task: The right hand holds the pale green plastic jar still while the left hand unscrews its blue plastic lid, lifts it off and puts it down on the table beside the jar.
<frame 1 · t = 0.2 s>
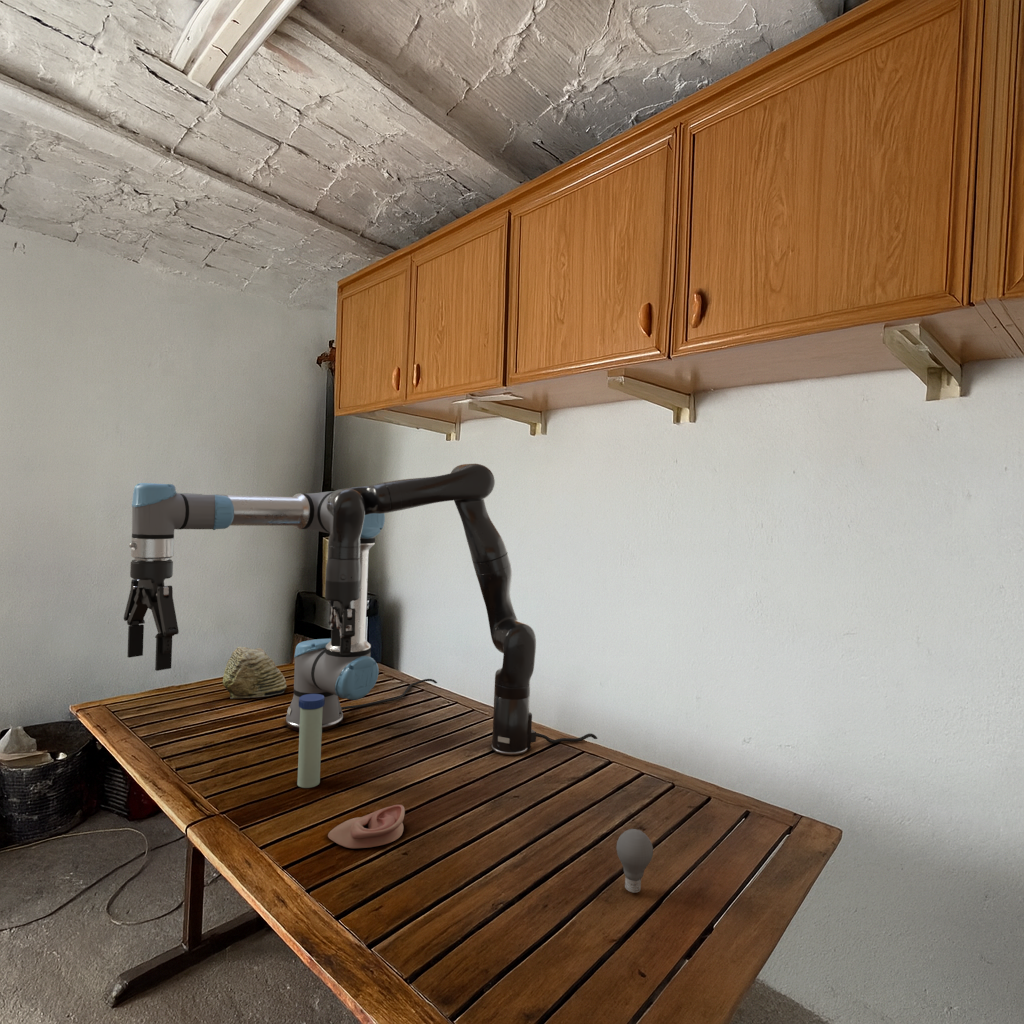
left hand: (148, 662, 129), 28 cm above the table, tool pointing down, fingers open, 13 cm apart
right hand: (340, 650, 142), 29 cm above the table, tool pointing down, fingers open, 8 cm apart
fossil: (254, 694, 198), on the table
jar: (308, 783, 140), on the table
light bulb: (632, 891, 106), on the table
anatomical model: (366, 834, 120), on the table
lid: (311, 698, 139), point 19 cm above the table, screwed on, not yet turned
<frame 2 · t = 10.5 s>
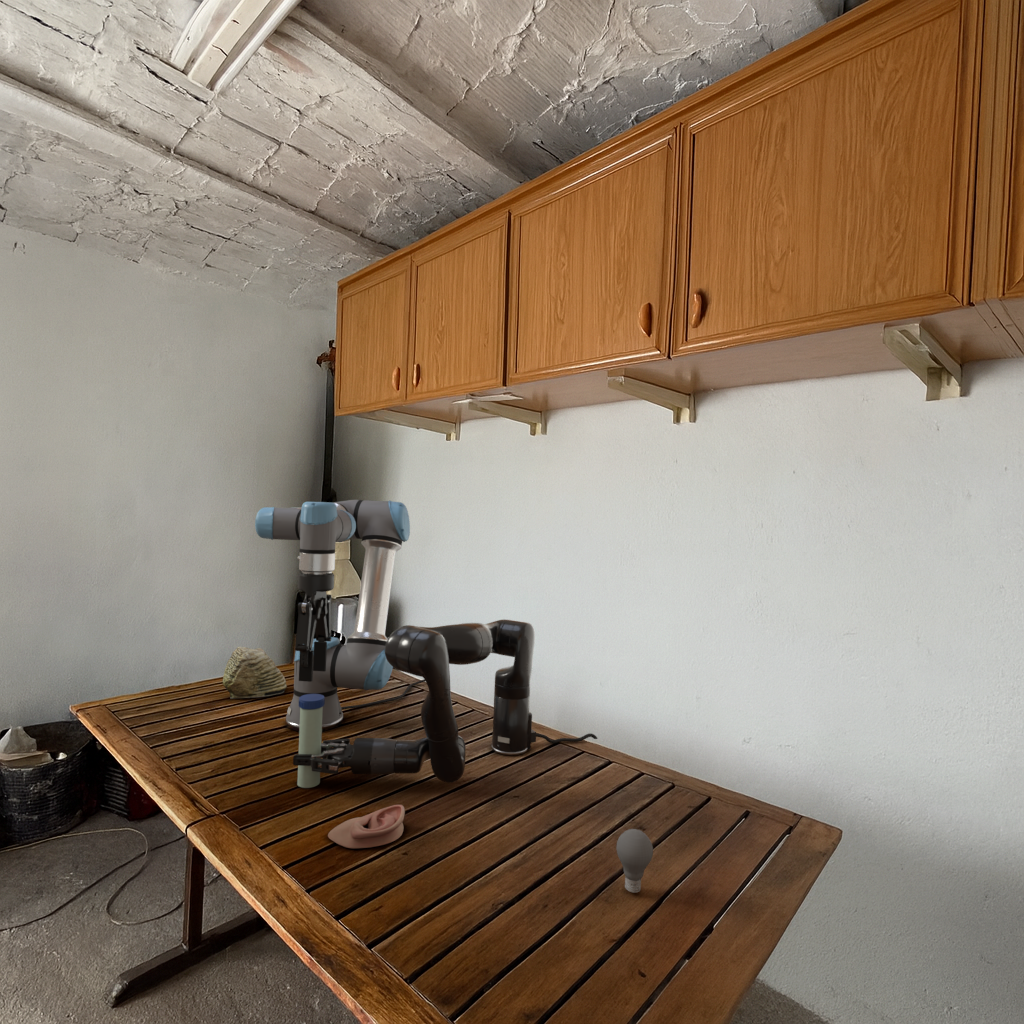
left hand: (312, 675, 139), 24 cm above the table, tool pointing down, fingers open, 7 cm apart
right hand: (297, 754, 139), 6 cm above the table, tool horizontal, fingers closed on jar, 4 cm apart
jar: (308, 783, 140), on the table, touching right hand
everything else where it was.
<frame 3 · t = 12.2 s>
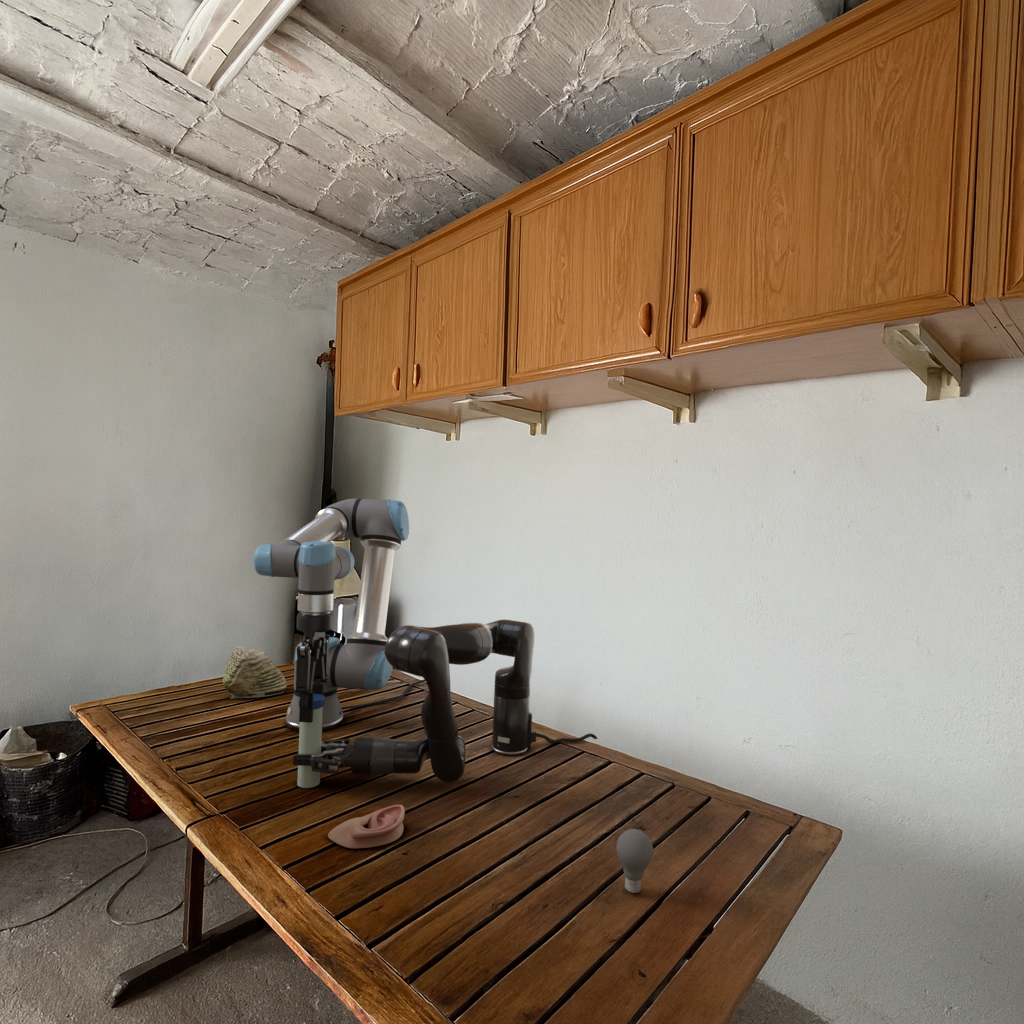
left hand: (311, 716, 140), 15 cm above the table, tool pointing down, fingers closed on lid, 5 cm apart
right hand: (297, 754, 139), 6 cm above the table, tool horizontal, fingers closed on jar, 4 cm apart
jar: (308, 783, 140), on the table, touching right hand
lid: (311, 698, 139), point 19 cm above the table, screwed on, not yet turned, touching left hand
everything else where it was.
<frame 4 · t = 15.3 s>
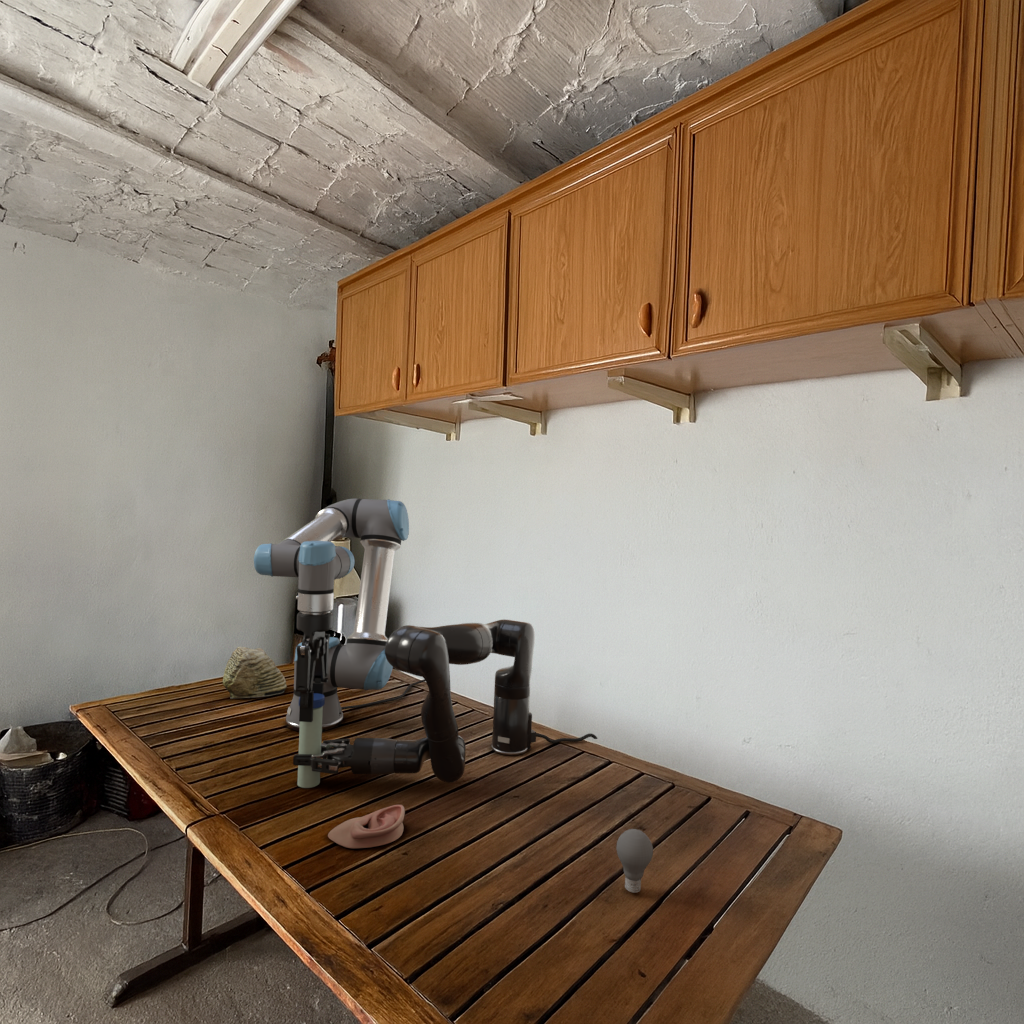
left hand: (311, 716, 140), 15 cm above the table, tool pointing down, fingers closed on lid, 5 cm apart
right hand: (297, 754, 139), 6 cm above the table, tool horizontal, fingers closed on jar, 4 cm apart
jar: (308, 783, 140), on the table, touching right hand
lid: (311, 698, 139), point 19 cm above the table, turned 90° so far, risen 0.1 cm, still on its thread, touching left hand
everything else where it was.
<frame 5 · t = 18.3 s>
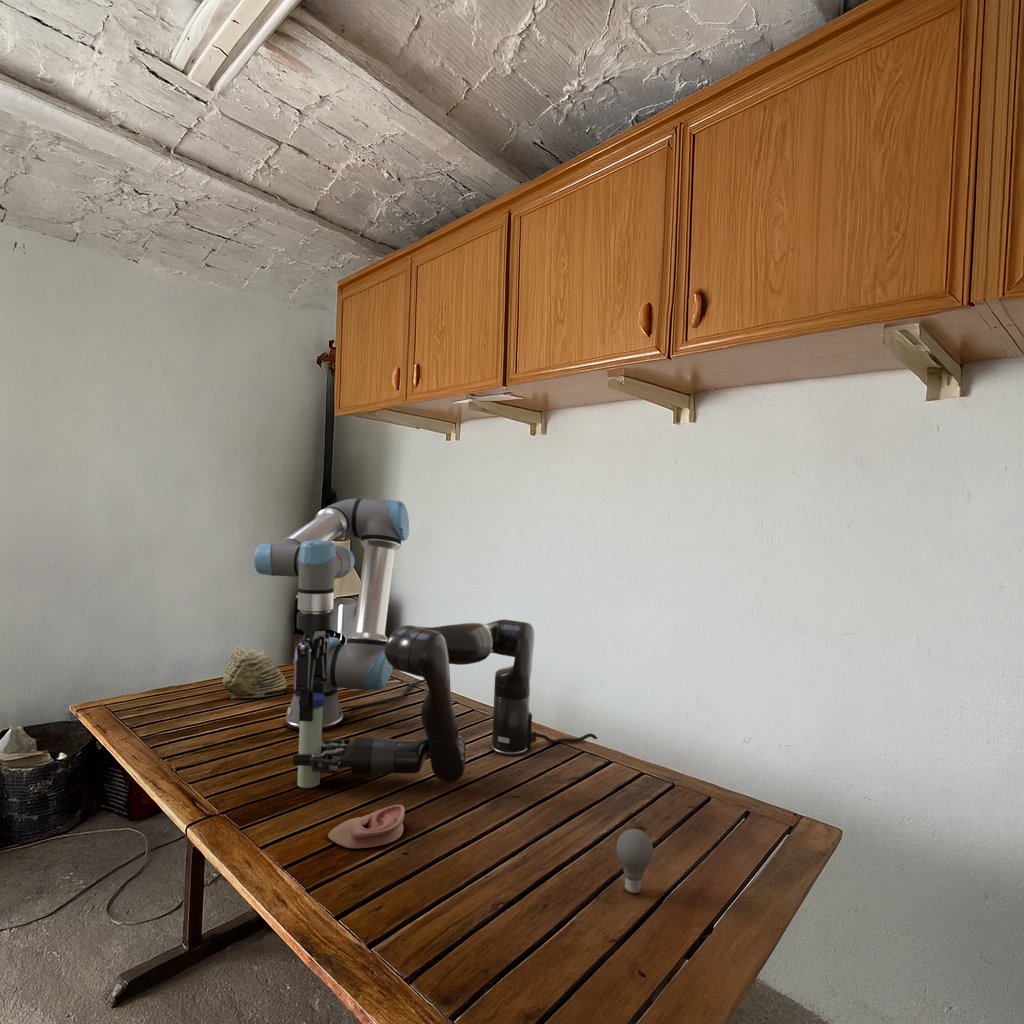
left hand: (311, 715, 140), 15 cm above the table, tool pointing down, fingers closed on lid, 5 cm apart
right hand: (297, 754, 139), 6 cm above the table, tool horizontal, fingers closed on jar, 4 cm apart
jar: (308, 783, 140), on the table, touching right hand
lid: (311, 697, 139), point 19 cm above the table, turned 179° so far, risen 0.2 cm, still on its thread, touching left hand
everything else where it was.
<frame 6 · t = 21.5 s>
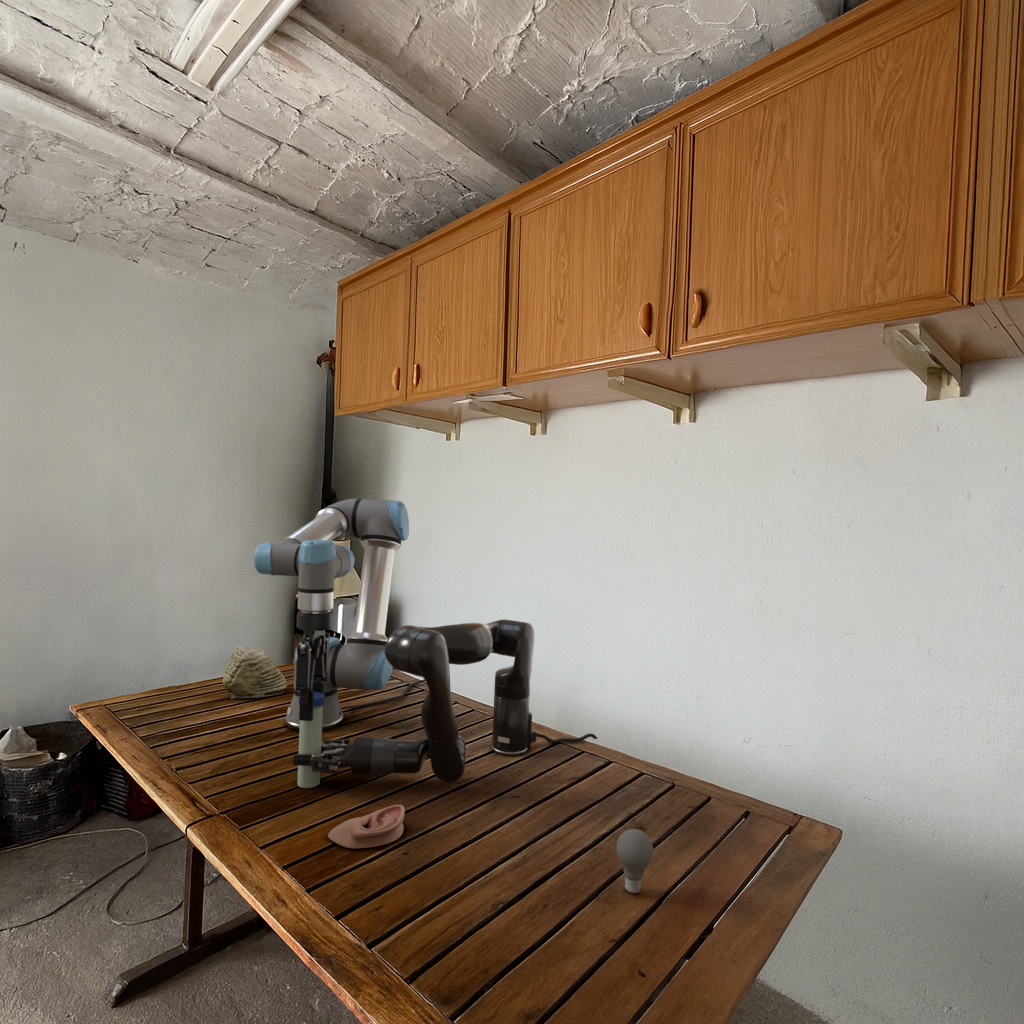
left hand: (311, 715, 140), 15 cm above the table, tool pointing down, fingers closed on lid, 5 cm apart
right hand: (297, 754, 139), 6 cm above the table, tool horizontal, fingers closed on jar, 4 cm apart
jar: (308, 783, 140), on the table, touching right hand
lid: (311, 697, 139), point 19 cm above the table, turned 269° so far, risen 0.4 cm, still on its thread, touching left hand
everything else where it was.
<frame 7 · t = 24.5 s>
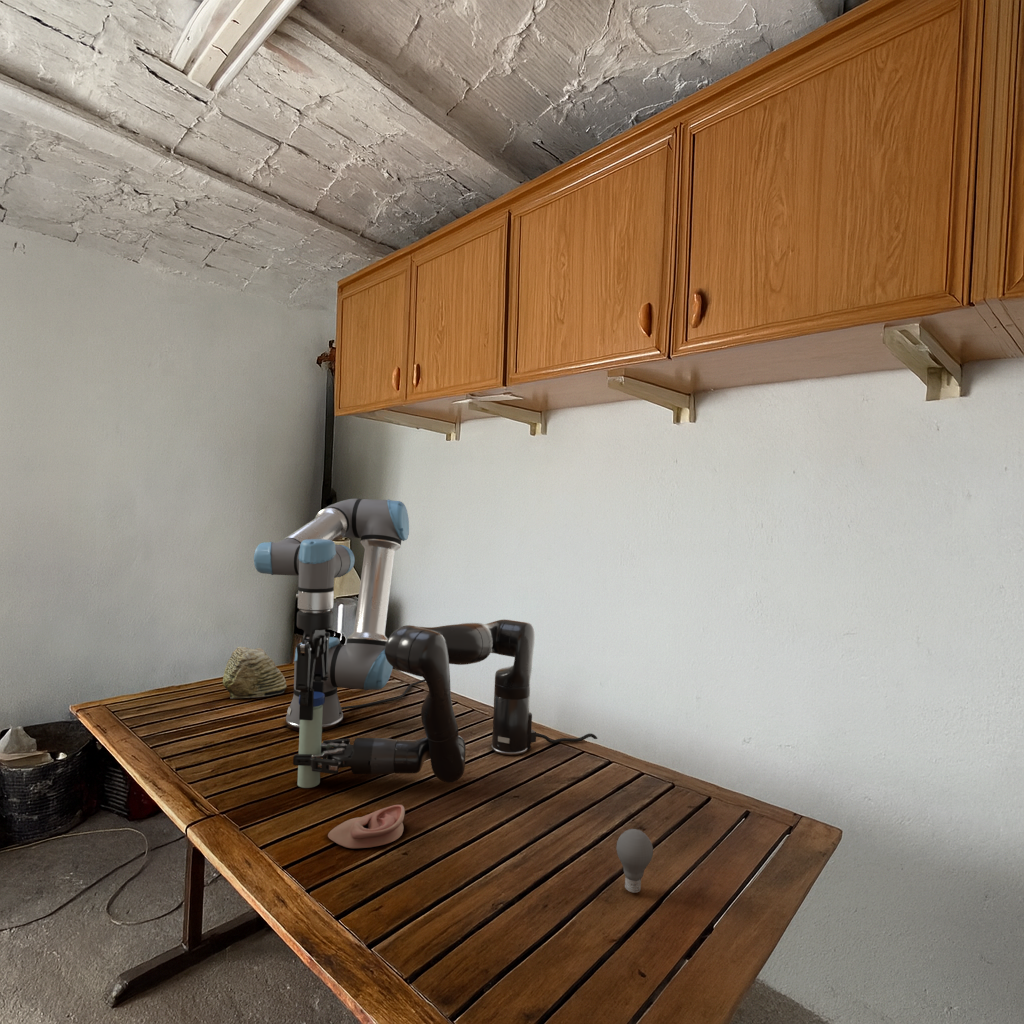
left hand: (311, 714, 140), 15 cm above the table, tool pointing down, fingers closed on lid, 5 cm apart
right hand: (297, 754, 139), 6 cm above the table, tool horizontal, fingers closed on jar, 4 cm apart
jar: (308, 783, 140), on the table, touching right hand
lid: (311, 696, 139), point 19 cm above the table, turned 359° so far, risen 0.5 cm, still on its thread, touching left hand
everything else where it was.
when the left hand's fingers open (0 cm above the table, at t = 33.4 s): lid drops 3 cm, point 1 cm above the table.
when the right hand's fingers open (6 cm above the table, at t = 34.0 s): jar stays where it is, on the table.
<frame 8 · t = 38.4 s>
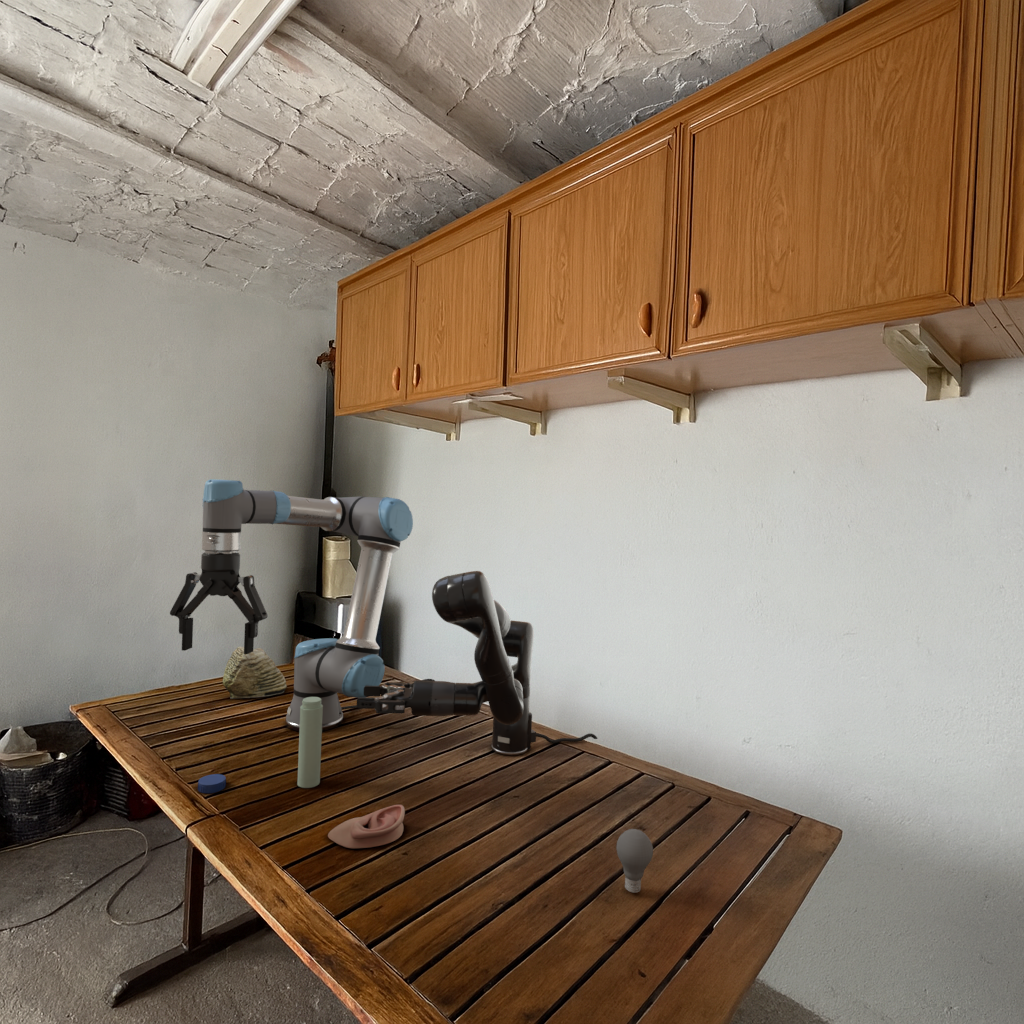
left hand: (217, 651, 135), 29 cm above the table, tool pointing down, fingers open, 13 cm apart
right hand: (360, 696, 140), 19 cm above the table, tool horizontal, fingers open, 8 cm apart
jar: (308, 783, 140), on the table
lid: (212, 781, 136), point 1 cm above the table, off its thread
everything else where it was.
at the end: lid came off its thread; lid point 1.4 cm above the table; the left hand is holding nothing; the right hand is holding nothing; jar tilted 0°; jar moved 0.0 cm from its start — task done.
